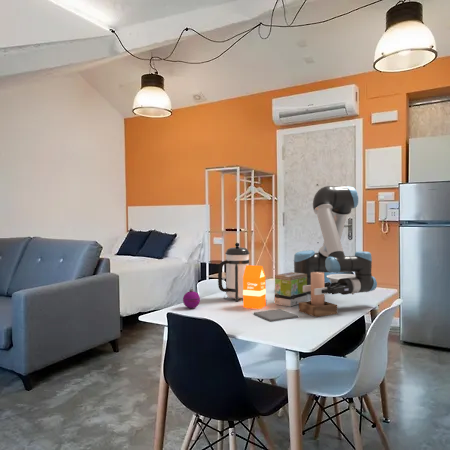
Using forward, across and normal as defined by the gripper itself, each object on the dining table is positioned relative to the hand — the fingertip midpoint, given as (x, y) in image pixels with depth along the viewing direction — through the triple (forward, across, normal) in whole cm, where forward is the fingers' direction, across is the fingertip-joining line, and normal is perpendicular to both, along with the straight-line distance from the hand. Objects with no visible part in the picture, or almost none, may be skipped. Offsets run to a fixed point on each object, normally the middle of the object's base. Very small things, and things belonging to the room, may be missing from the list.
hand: (309, 290), depth 177 cm
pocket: (-5, 0, -10) cm, 12 cm away
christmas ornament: (+42, +36, -11) cm, 56 cm away
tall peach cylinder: (-5, 0, -10) cm, 12 cm away
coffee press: (+14, +43, -11) cm, 47 cm away
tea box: (-6, +22, -11) cm, 25 cm away
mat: (+15, +4, -10) cm, 19 cm away
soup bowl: (-61, +42, -11) cm, 75 cm away
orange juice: (+14, +24, -11) cm, 30 cm away
